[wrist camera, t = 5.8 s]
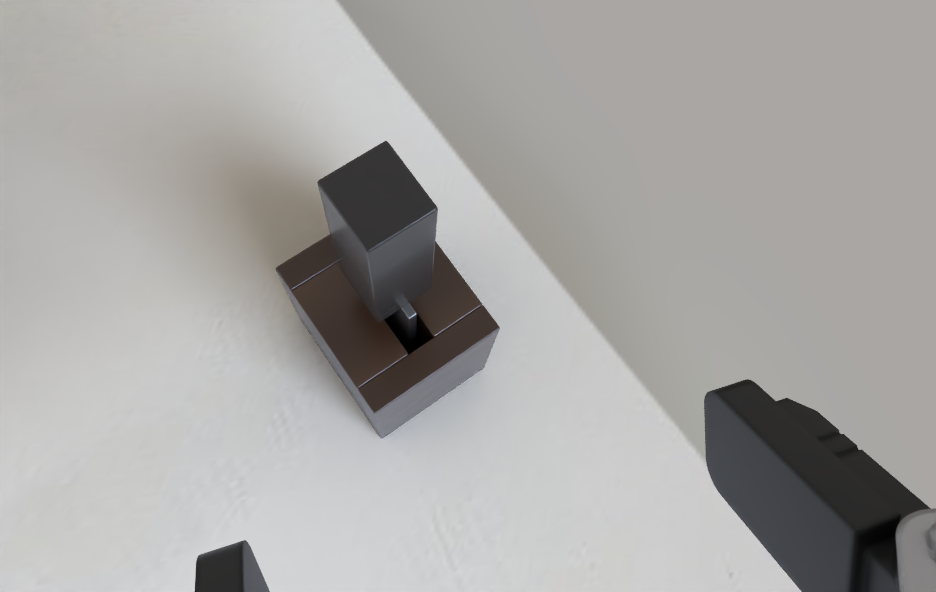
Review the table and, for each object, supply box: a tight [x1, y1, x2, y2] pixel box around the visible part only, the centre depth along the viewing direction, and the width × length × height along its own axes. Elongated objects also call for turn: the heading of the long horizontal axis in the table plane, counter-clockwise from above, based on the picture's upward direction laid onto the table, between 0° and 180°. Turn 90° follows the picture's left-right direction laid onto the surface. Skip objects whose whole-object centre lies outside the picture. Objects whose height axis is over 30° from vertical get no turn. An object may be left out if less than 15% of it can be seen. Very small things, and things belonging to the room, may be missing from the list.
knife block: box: [276, 234, 500, 438], centre depth 29 cm, size 6×5×6 cm
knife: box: [317, 141, 438, 355], centre depth 25 cm, size 3×2×14 cm, turn 36°
